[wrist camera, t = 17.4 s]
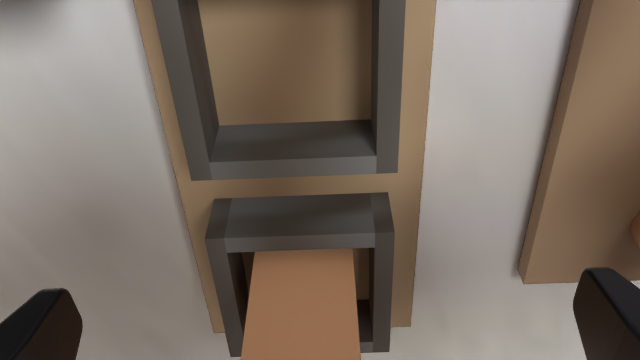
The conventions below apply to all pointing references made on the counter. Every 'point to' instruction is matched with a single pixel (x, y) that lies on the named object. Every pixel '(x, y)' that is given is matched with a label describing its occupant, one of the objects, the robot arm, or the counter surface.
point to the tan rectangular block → (302, 306)
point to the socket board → (296, 140)
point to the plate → (591, 155)
